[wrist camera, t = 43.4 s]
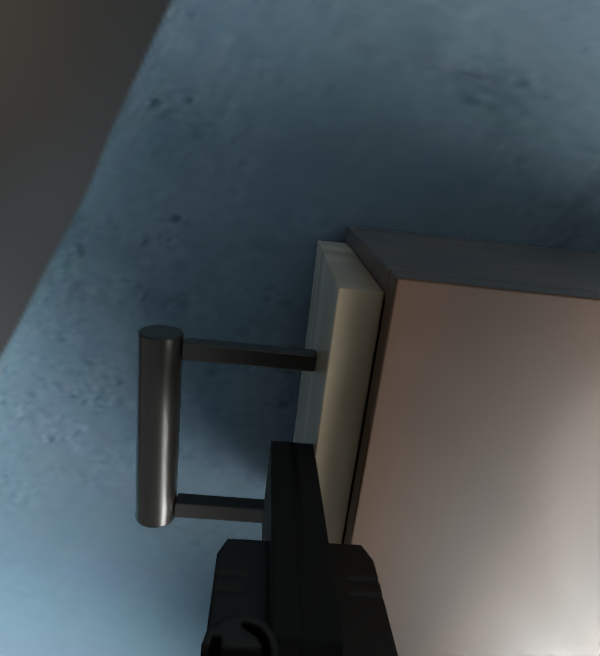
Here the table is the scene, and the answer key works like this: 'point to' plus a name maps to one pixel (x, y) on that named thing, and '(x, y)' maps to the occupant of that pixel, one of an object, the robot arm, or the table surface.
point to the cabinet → (482, 446)
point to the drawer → (314, 361)
